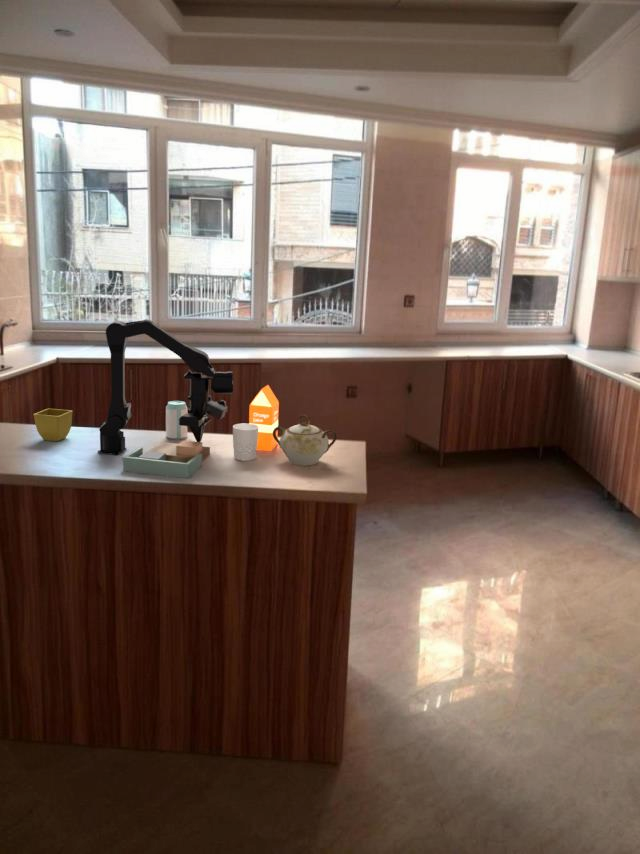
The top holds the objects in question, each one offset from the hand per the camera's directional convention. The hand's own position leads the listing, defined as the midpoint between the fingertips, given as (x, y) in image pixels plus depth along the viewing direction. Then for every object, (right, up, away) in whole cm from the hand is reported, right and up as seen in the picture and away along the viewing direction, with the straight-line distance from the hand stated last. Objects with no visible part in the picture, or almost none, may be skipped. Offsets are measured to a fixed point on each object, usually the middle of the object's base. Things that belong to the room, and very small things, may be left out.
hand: (198, 441), depth 207 cm
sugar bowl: (+33, -6, -3) cm, 33 cm away
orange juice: (+19, -2, +11) cm, 22 cm away
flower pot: (-48, +1, +6) cm, 48 cm away
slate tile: (-11, -6, -14) cm, 19 cm away
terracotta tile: (-1, -3, -8) cm, 8 cm away
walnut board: (-5, -5, -5) cm, 9 cm away
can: (-10, +1, +16) cm, 19 cm away
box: (-7, -7, -16) cm, 19 cm away
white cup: (+15, -5, -2) cm, 15 cm away
